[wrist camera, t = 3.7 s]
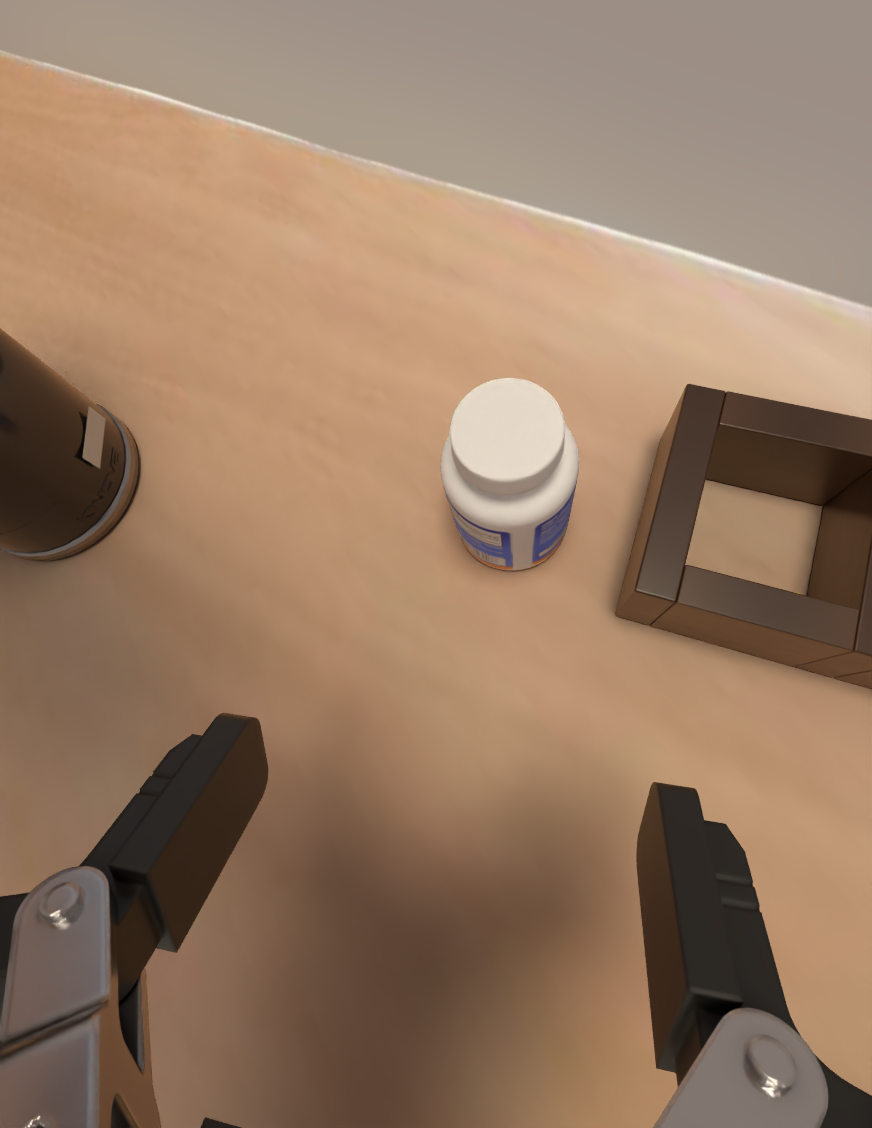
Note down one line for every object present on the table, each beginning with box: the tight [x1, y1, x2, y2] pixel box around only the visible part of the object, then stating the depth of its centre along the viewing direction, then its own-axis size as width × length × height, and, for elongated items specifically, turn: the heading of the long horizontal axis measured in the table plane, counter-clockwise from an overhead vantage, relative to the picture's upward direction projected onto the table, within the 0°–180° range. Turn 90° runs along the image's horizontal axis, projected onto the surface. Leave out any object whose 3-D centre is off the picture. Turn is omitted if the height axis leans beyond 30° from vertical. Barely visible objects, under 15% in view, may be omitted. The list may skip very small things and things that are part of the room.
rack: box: [615, 384, 872, 689], centre depth 25 cm, size 17×9×5 cm, turn 72°
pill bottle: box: [441, 378, 579, 570], centre depth 25 cm, size 5×5×10 cm
